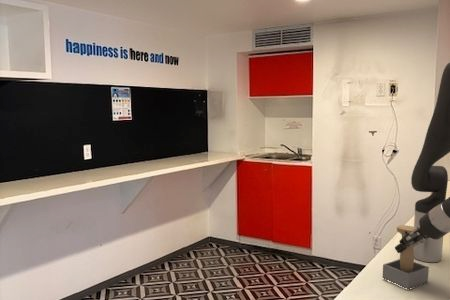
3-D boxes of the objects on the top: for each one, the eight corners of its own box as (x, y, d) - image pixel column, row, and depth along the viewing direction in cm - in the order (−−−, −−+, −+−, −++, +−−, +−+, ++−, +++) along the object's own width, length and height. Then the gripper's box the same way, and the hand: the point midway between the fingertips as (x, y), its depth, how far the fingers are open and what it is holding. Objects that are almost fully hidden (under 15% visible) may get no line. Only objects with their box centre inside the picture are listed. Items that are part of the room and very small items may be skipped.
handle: (397, 269, 135) (399, 224, 134) (418, 274, 132) (421, 227, 130) (393, 274, 132) (395, 228, 130) (415, 279, 128) (417, 231, 126)
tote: (402, 272, 139) (402, 257, 138) (427, 282, 131) (428, 267, 130) (382, 279, 133) (383, 264, 133) (408, 290, 126) (409, 274, 125)
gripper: (446, 205, 127) (407, 234, 138) (417, 213, 119) (379, 242, 131) (462, 227, 123) (421, 255, 134) (434, 236, 115) (393, 264, 127)
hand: (401, 248), depth 132 cm, fingers closed on handle, 3 cm apart
